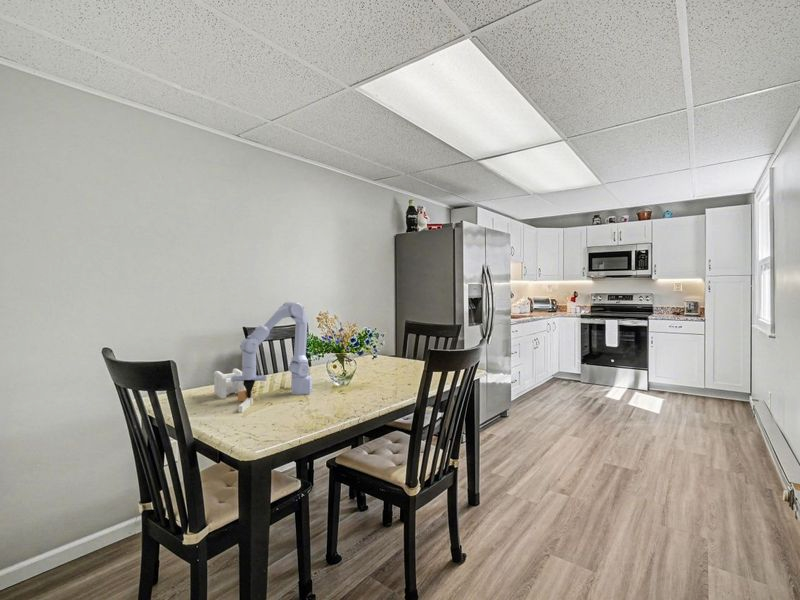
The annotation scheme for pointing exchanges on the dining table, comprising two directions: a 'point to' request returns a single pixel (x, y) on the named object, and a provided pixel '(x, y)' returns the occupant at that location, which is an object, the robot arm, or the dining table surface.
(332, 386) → the dining table surface
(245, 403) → the bar
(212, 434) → the dining table surface
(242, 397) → the plug block
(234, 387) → the cable organizer
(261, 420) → the dining table surface
